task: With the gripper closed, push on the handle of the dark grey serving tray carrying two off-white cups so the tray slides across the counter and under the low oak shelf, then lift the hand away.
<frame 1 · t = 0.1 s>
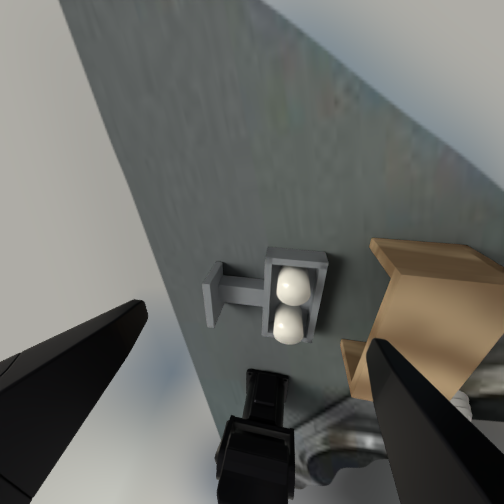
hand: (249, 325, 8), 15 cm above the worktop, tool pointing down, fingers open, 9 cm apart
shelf: (392, 303, 23), on the worktop
cup a: (288, 312, 26), point 1 cm above the worktop, touching tray
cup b: (293, 273, 23), point 1 cm above the worktop, touching tray
tray: (290, 290, 25), on the worktop, touching cup a, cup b
chalice: (444, 398, 29), on the worktop
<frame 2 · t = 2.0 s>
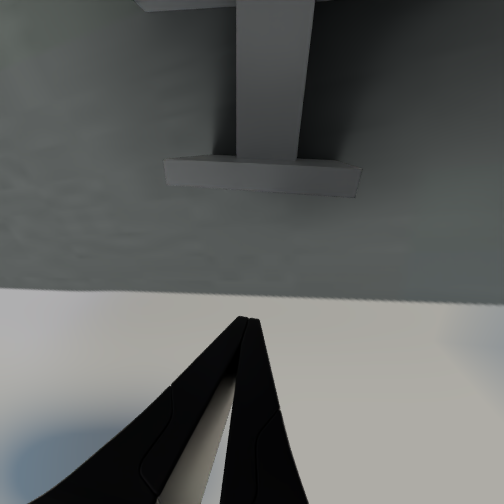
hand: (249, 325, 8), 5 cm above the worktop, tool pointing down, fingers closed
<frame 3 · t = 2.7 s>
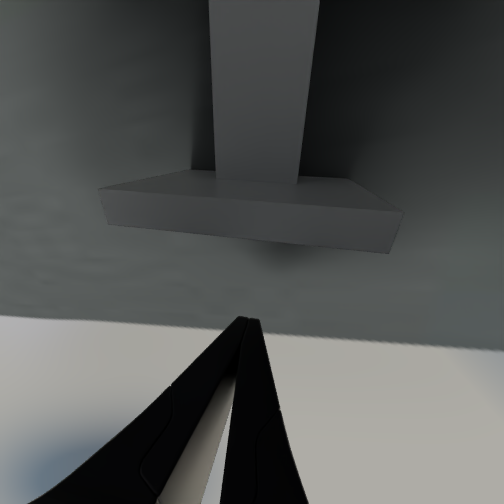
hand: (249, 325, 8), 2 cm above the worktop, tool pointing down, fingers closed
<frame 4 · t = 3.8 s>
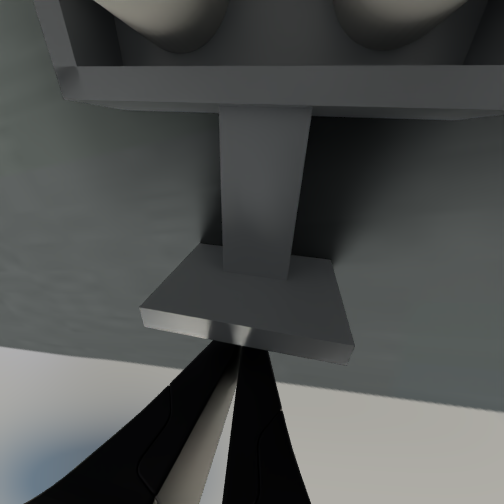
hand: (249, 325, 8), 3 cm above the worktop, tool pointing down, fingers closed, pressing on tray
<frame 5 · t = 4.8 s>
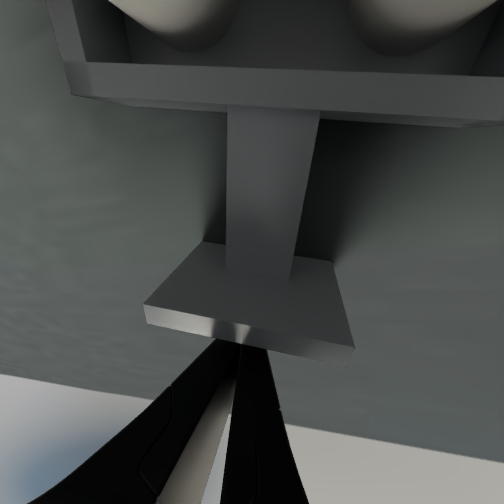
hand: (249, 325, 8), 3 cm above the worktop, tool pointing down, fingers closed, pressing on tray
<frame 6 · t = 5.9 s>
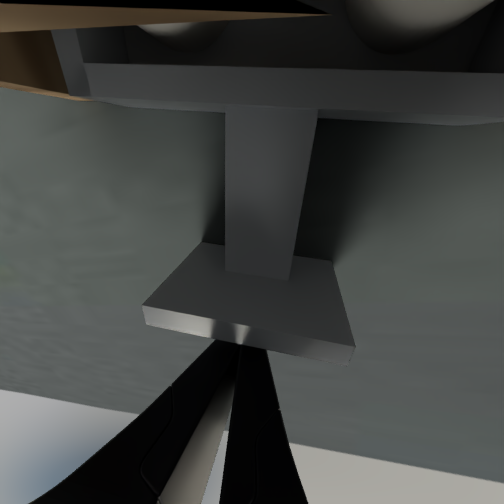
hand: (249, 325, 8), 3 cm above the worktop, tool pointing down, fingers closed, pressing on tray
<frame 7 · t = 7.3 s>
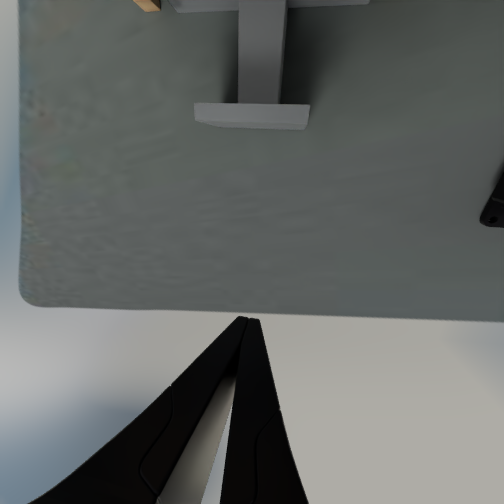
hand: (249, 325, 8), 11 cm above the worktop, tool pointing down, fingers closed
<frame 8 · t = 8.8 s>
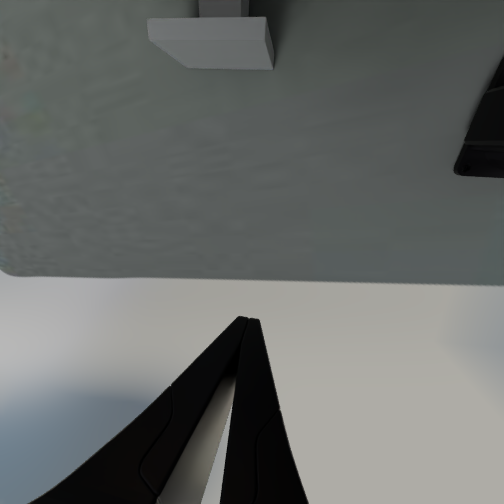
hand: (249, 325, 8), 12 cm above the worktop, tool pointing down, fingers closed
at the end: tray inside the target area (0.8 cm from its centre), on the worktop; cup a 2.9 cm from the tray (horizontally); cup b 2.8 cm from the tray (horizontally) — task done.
